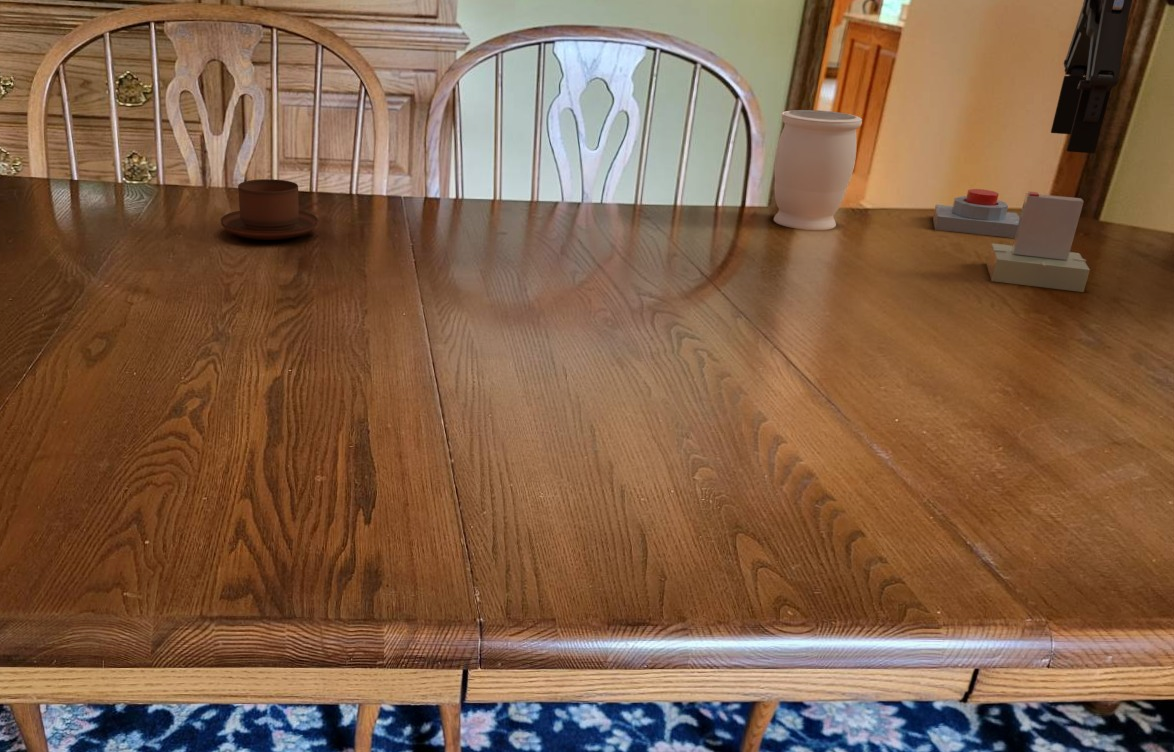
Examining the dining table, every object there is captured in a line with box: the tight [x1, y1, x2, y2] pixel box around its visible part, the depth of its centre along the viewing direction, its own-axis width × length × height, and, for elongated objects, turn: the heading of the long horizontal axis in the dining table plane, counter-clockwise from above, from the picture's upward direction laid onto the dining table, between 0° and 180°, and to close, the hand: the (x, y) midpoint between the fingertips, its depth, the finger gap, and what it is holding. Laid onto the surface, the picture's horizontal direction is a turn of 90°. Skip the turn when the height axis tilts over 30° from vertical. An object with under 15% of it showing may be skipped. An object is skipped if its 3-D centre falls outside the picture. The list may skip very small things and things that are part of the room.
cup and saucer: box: [220, 178, 319, 241], centre depth 137 cm, size 12×12×6 cm
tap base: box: [986, 243, 1091, 293], centre depth 133 cm, size 10×10×3 cm
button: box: [966, 188, 1000, 206], centre depth 154 cm, size 4×4×2 cm
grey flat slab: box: [1012, 191, 1085, 260], centre depth 131 cm, size 6×2×7 cm, turn 72°
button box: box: [932, 195, 1020, 239], centre depth 155 cm, size 11×8×4 cm
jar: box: [773, 109, 863, 231], centre depth 152 cm, size 11×10×15 cm
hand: (1071, 142), depth 126 cm, fingers open, 13 cm apart
